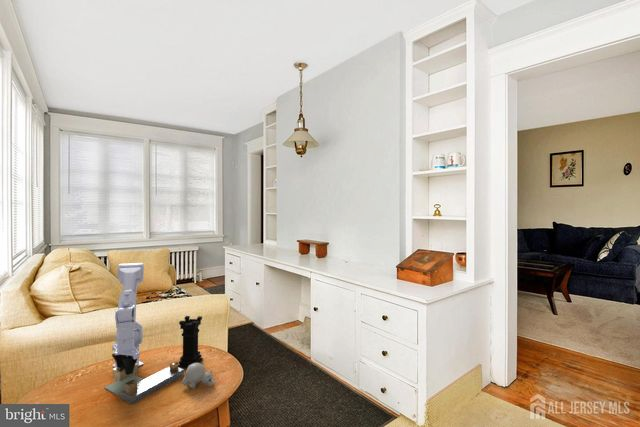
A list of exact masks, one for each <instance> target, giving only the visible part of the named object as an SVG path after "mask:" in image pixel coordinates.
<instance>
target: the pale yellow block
mask: <svg viewBox="0 0 640 427" xmlns="http://www.w3.org/2000/svg"><path fill="white" fill-rule="evenodd" d="M136 374H139V367H138V364H136V363H135V366H134V370H133V373H131V374H129V375H127V374H126V369H125V364H122V365H119V366H117V368H115V367H113V369H112V379H114V380H116V381H122V380H124V379H126V378H128V377H130V376H132V375H136Z"/></svg>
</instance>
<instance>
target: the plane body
mask: <svg viewBox="0 0 640 427" xmlns="http://www.w3.org/2000/svg"><path fill="white" fill-rule="evenodd" d="M178 365H179V361H172V362H169V366H168V367H166V368H163V369H162V370H160V371H157V372H156V373H153V374H151V375H150V376H148V377H146V378H143V379H144V380H142V381H140V382H138V383H137V381H136V380H134V379H133V380H131V381H129V382H127V383H125V389H124V390H122V391H120V395H119V398H120V399H121V400H123V401H125V402H127V403H129V404H131V405H135V403H137V402H139V401H140V400H143V399H145V398H146V397H148V396H150V395H152V394H153V393H156V392H157V391H159V390H160V389H162V388H164V387H166V386H167V385H170V384H171V383H173V382H175V381H177V380H178V379H180V378H182V377H185V370H184V369H185V368H179V367H178Z"/></svg>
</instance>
